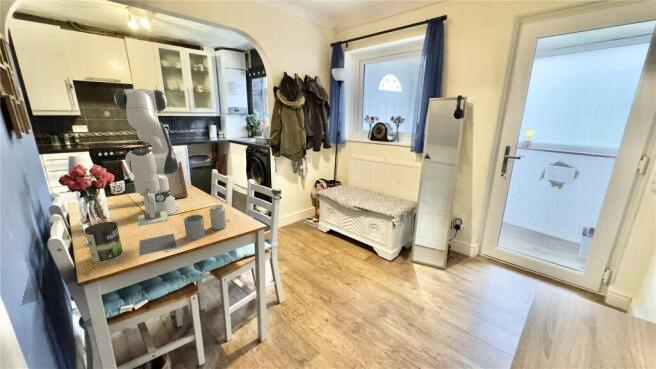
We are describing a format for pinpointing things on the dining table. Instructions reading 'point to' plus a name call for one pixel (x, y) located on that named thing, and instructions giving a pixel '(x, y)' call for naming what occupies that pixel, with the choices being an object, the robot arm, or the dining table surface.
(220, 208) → the can
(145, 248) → the mat
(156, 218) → the lid
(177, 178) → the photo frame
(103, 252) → the coffee can
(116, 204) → the dining table surface
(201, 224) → the cup
